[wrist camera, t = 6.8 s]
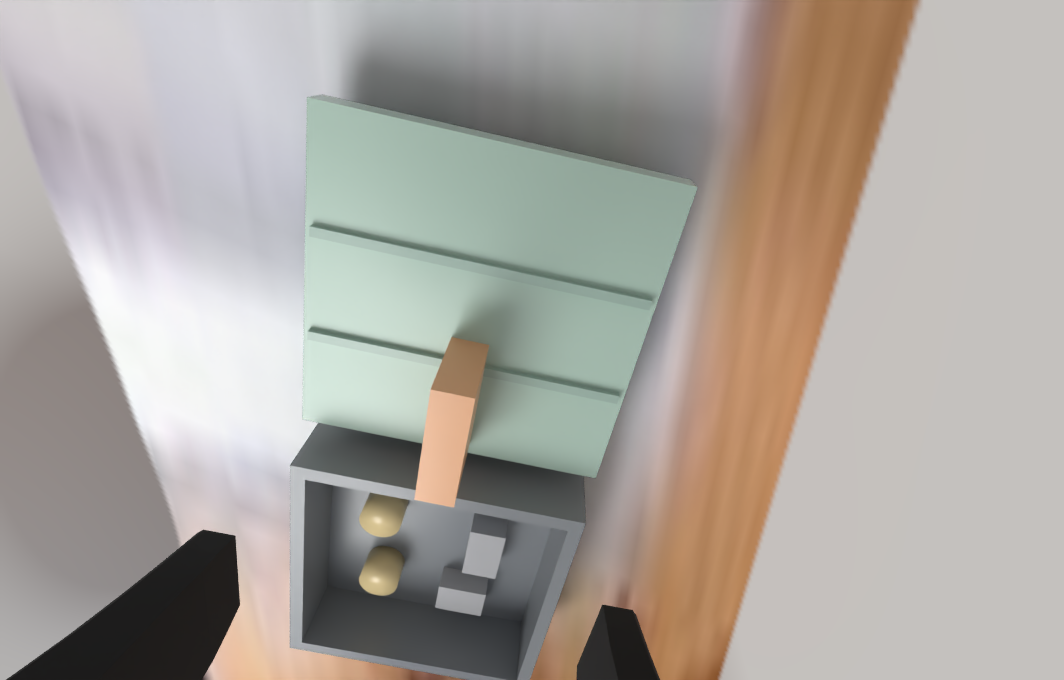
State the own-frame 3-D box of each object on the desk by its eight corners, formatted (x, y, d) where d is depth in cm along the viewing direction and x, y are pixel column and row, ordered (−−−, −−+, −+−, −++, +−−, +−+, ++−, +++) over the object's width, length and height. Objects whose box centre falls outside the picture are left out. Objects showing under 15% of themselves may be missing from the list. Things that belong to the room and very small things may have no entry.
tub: (530, 621, 26) (526, 690, 23) (320, 581, 25) (289, 647, 23) (583, 460, 21) (585, 523, 18) (327, 409, 21) (289, 465, 18)
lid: (593, 446, 21) (600, 545, 17) (322, 390, 20) (259, 479, 16) (684, 173, 16) (727, 217, 12) (333, 92, 16) (246, 107, 11)
